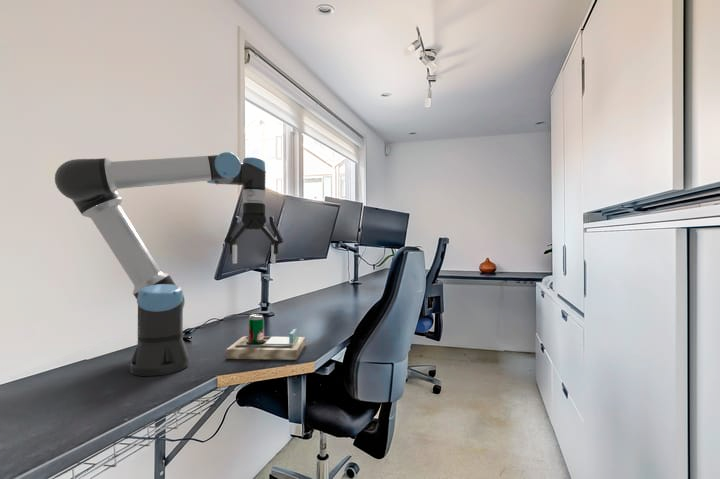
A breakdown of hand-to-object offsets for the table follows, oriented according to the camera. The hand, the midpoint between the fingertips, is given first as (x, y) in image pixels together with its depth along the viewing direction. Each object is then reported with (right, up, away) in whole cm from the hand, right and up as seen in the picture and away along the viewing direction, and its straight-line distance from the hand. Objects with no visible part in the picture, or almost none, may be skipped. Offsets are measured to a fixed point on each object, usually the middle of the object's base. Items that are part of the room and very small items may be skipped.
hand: (254, 263), depth 137 cm
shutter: (+11, -26, -7) cm, 29 cm away
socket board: (+7, -29, -7) cm, 30 cm away
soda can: (+3, -29, -7) cm, 30 cm away
